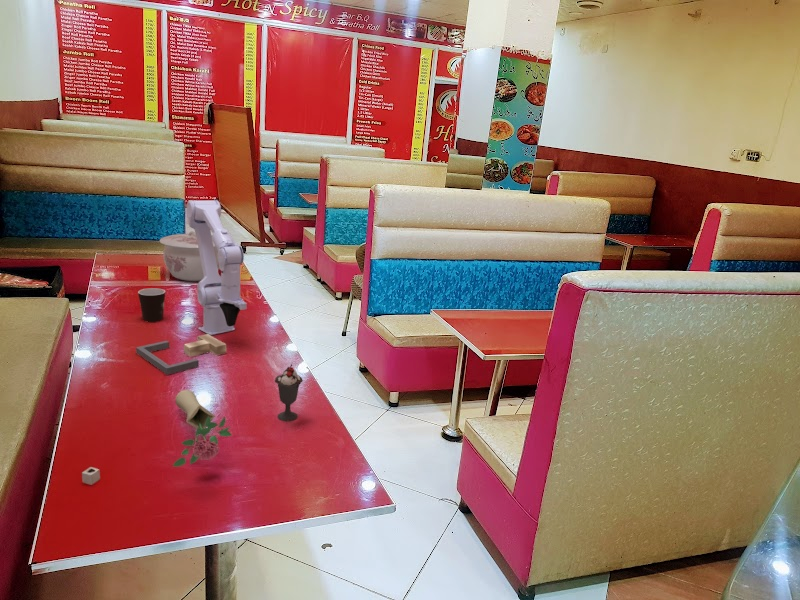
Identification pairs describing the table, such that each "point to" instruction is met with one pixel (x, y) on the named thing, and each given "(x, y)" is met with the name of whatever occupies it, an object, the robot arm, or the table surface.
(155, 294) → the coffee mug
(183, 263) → the chamber pot
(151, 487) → the table surface
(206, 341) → the T block
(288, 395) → the sundae
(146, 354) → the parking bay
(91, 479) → the beige hollow cube
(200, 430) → the flower vase
